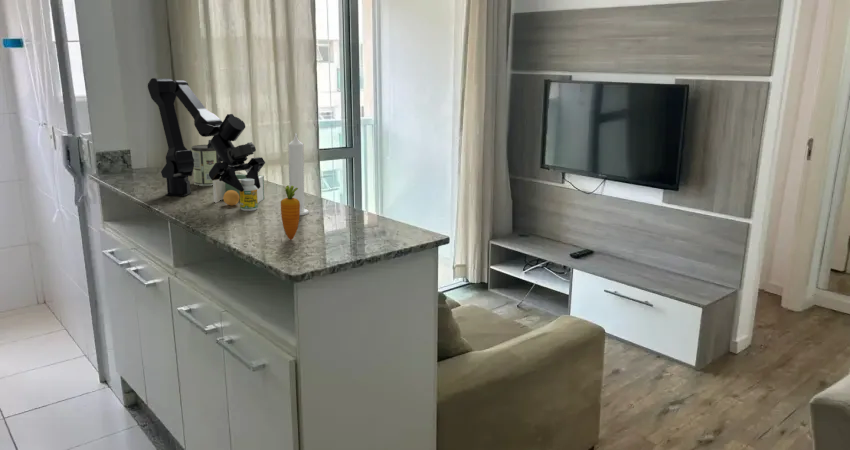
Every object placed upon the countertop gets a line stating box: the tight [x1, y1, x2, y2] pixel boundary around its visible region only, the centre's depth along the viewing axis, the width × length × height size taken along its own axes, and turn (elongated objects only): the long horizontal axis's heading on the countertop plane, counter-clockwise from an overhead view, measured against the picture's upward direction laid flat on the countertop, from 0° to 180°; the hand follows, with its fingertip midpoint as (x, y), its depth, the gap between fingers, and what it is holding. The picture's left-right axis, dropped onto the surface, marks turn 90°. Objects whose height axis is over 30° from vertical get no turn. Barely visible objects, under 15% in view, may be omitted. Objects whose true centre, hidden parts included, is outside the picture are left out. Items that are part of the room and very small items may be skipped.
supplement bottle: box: [239, 179, 259, 212], centre depth 197 cm, size 5×5×10 cm
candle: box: [288, 132, 309, 216], centre depth 192 cm, size 7×7×25 cm
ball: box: [222, 190, 240, 206], centre depth 202 cm, size 5×5×5 cm
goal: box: [212, 173, 265, 204], centre depth 209 cm, size 14×9×8 cm, turn 87°
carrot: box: [280, 184, 301, 241], centre depth 164 cm, size 5×5×15 cm
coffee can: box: [191, 144, 219, 187], centre depth 234 cm, size 10×10×14 cm
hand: (251, 189), depth 196 cm, fingers open, 6 cm apart
